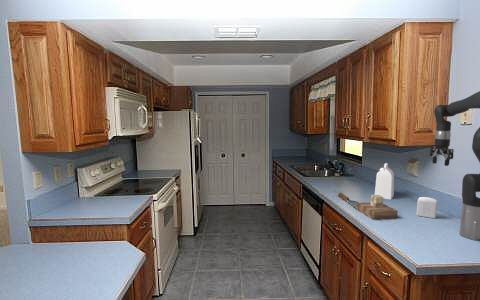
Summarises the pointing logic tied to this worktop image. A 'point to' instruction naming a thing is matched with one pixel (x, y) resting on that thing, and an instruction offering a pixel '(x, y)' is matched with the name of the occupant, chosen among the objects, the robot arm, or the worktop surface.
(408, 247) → the worktop surface
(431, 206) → the photo printer
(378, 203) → the beech block
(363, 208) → the walnut base
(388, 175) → the milk
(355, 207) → the meat cleaver
